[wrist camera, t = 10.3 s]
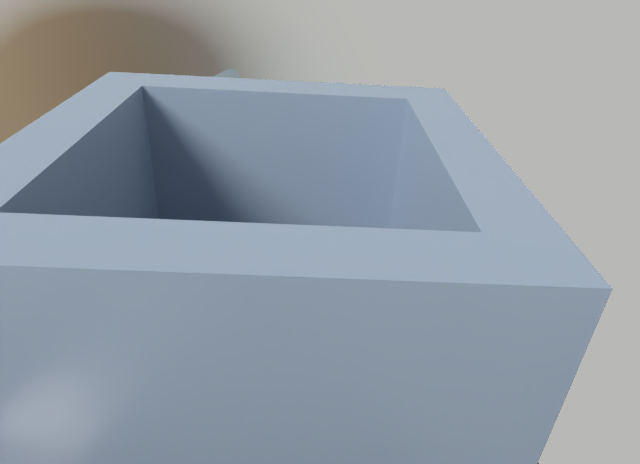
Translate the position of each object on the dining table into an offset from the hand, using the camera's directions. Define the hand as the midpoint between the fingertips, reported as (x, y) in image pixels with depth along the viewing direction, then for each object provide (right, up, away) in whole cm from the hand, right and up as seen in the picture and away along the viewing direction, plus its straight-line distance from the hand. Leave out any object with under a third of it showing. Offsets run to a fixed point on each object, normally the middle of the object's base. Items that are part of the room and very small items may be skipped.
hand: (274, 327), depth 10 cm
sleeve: (0, -7, +1) cm, 7 cm away
